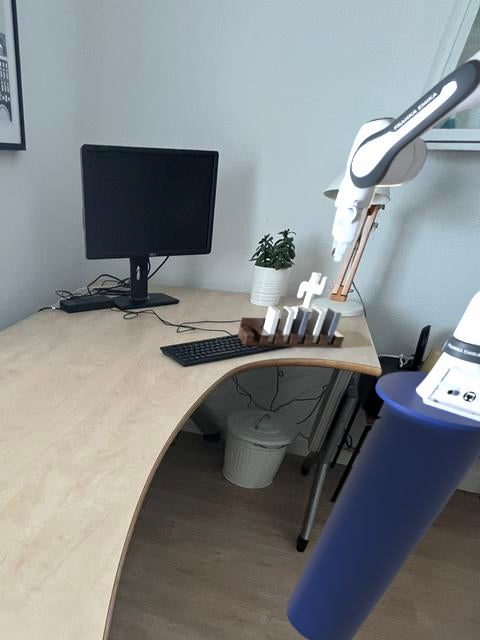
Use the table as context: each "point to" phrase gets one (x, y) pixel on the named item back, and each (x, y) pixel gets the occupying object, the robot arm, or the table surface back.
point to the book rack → (282, 336)
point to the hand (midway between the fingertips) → (335, 258)
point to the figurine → (311, 291)
